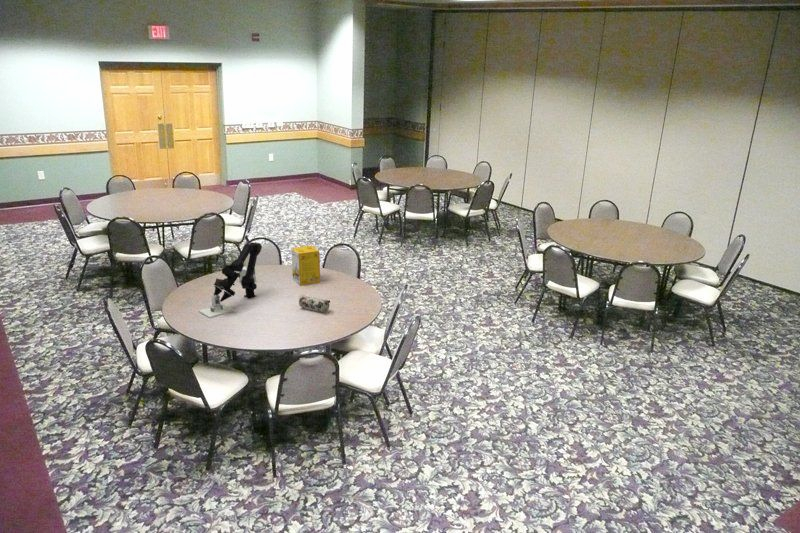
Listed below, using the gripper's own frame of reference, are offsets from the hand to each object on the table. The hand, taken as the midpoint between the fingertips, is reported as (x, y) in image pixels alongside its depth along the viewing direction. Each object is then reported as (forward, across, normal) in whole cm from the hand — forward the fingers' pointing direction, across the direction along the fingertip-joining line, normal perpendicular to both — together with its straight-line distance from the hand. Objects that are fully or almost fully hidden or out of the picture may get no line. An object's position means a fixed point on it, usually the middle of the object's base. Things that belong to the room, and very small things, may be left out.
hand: (217, 299), depth 384 cm
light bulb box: (-25, -36, +37) cm, 57 cm away
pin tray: (+6, 0, +5) cm, 8 cm away
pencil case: (-28, +41, +40) cm, 64 cm away
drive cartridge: (+6, 0, +4) cm, 7 cm away
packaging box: (-48, -7, +61) cm, 78 cm away
